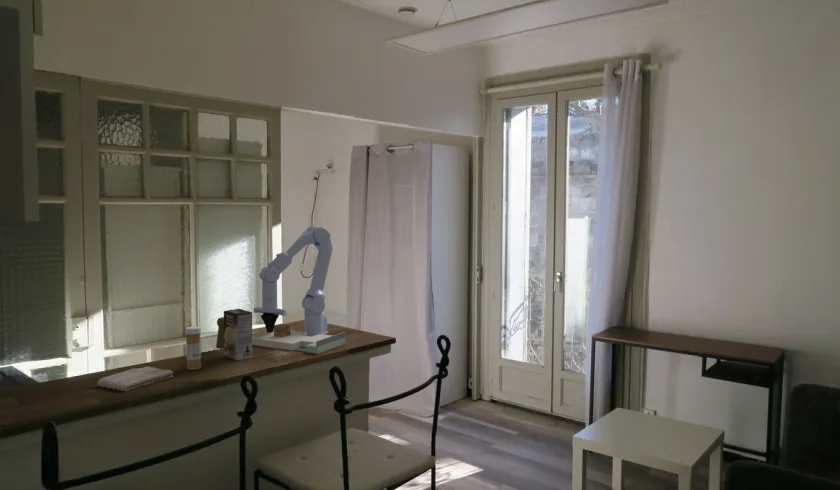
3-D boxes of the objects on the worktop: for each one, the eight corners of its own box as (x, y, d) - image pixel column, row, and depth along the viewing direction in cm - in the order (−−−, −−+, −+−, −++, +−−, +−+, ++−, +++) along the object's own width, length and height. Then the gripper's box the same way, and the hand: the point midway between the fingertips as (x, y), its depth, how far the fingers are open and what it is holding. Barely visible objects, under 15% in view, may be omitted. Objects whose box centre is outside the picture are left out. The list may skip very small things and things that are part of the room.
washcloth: (176, 378, 184) (175, 368, 184) (124, 394, 168) (124, 383, 167) (148, 373, 189) (148, 363, 189) (96, 388, 173) (96, 378, 172)
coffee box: (223, 356, 209) (222, 310, 208) (239, 352, 213) (239, 308, 212) (236, 360, 202) (236, 313, 201) (253, 357, 207) (253, 311, 206)
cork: (235, 345, 225) (235, 316, 224) (229, 348, 219) (228, 319, 218) (220, 344, 226) (219, 315, 225) (213, 348, 220) (212, 318, 219)
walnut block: (281, 333, 234) (281, 323, 233) (290, 335, 232) (290, 324, 231) (274, 336, 230) (273, 325, 229) (283, 337, 228) (283, 326, 227)
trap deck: (282, 335, 242) (282, 324, 242) (345, 343, 229) (345, 332, 228) (252, 344, 226) (252, 333, 225) (317, 353, 213) (317, 341, 212)
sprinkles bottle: (200, 366, 196) (199, 325, 195) (202, 369, 192) (201, 328, 191) (185, 367, 194) (184, 326, 193) (186, 371, 190) (186, 329, 189)
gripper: (248, 297, 232) (248, 332, 233) (277, 300, 226) (278, 336, 226) (260, 295, 238) (260, 329, 239) (289, 297, 232) (289, 332, 233)
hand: (270, 332), depth 233 cm, fingers closed
